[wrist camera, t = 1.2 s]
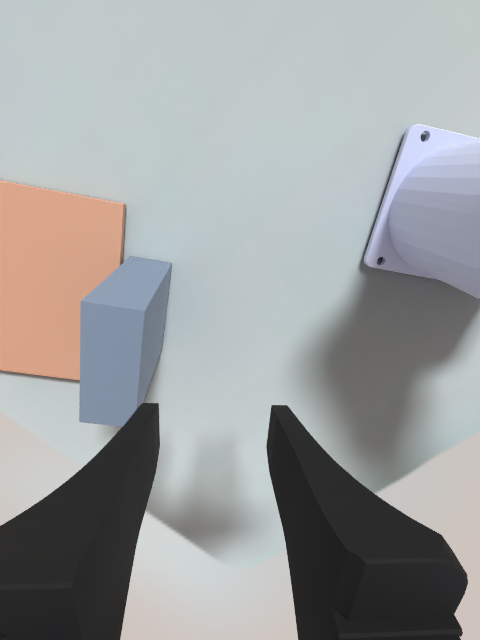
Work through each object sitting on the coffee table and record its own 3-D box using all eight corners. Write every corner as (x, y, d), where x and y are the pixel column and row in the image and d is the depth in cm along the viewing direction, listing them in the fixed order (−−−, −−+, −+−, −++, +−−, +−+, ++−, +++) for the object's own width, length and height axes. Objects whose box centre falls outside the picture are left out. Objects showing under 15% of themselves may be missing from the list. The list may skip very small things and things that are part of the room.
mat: (125, 204, 20) (123, 204, 19) (115, 379, 24) (113, 384, 24) (-24, 175, 19) (-31, 175, 18) (-5, 364, 23) (-11, 368, 23)
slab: (171, 263, 21) (144, 310, 14) (162, 348, 23) (134, 428, 16) (130, 256, 21) (80, 300, 13) (125, 342, 23) (79, 421, 16)
